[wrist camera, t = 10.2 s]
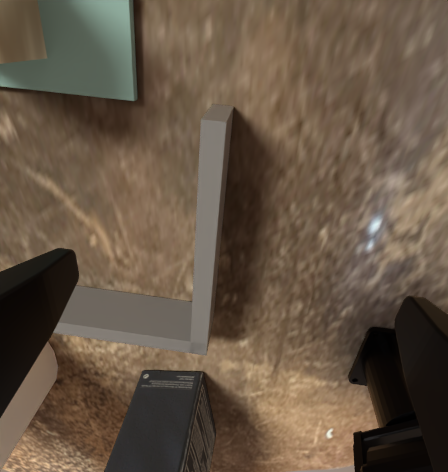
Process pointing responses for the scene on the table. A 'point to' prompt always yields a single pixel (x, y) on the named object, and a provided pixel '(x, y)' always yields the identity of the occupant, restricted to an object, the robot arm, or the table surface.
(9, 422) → the cylinder
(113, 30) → the teal mat
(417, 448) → the robot arm
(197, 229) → the grey l-shaped bracket
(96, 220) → the table surface
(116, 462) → the small box
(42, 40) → the cream block
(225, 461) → the table surface
